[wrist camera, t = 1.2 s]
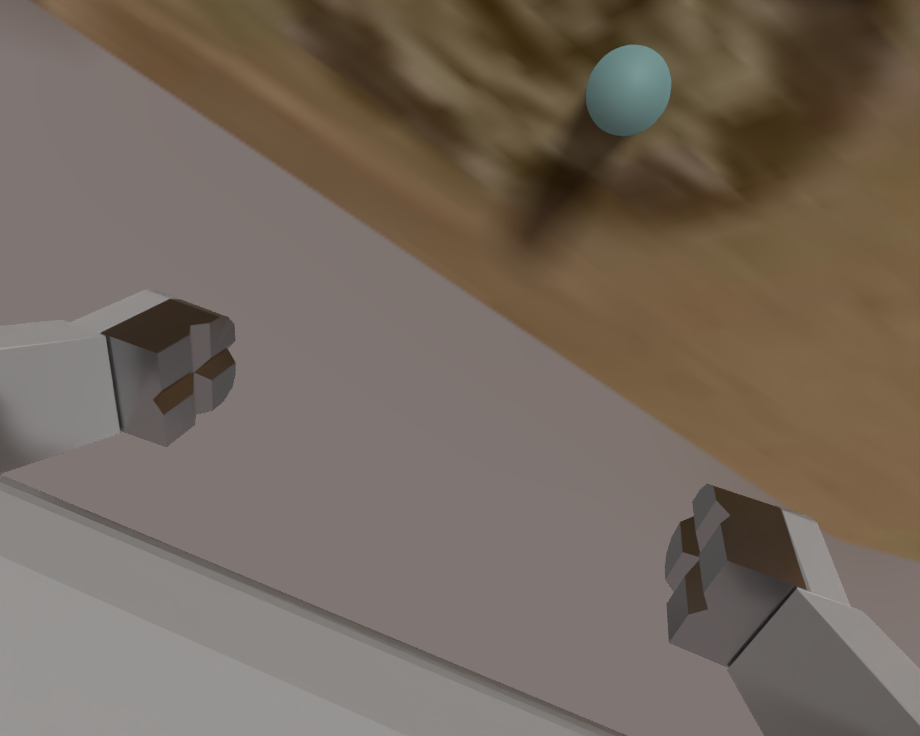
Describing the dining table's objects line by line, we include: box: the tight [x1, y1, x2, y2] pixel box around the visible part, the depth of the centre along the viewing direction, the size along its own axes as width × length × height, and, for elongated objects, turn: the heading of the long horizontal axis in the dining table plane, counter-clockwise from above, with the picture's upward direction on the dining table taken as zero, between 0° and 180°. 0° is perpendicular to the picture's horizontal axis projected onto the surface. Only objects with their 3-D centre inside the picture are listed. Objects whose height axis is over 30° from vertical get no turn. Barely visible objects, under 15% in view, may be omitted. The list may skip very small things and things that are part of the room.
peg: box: [586, 45, 671, 136], centre depth 28 cm, size 4×4×10 cm
